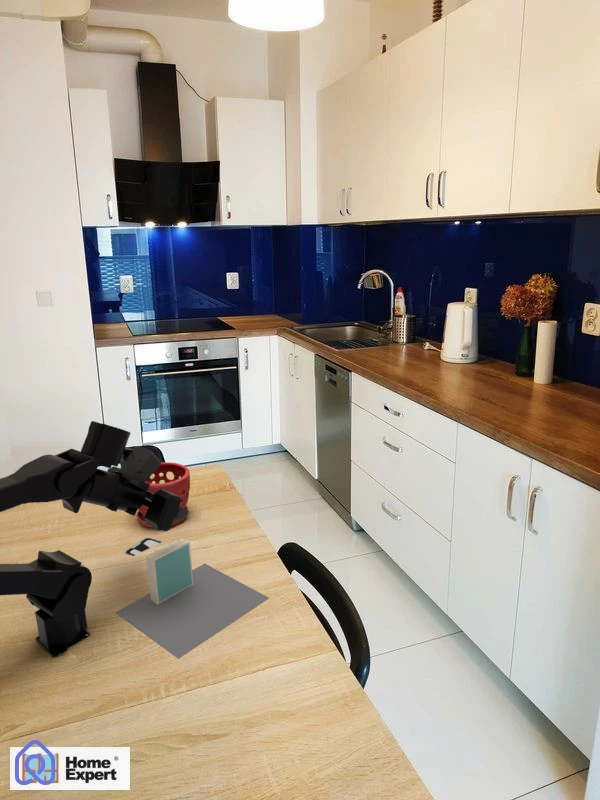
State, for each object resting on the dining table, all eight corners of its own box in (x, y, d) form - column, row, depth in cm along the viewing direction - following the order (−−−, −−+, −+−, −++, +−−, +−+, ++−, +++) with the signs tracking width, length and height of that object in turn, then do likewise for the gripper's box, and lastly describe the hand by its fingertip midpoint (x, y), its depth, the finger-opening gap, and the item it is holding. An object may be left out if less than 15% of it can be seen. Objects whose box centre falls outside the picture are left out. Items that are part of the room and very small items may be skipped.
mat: (178, 661, 89) (178, 658, 89) (115, 615, 101) (115, 612, 101) (269, 600, 104) (269, 597, 103) (204, 566, 115) (204, 563, 115)
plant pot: (135, 536, 127) (129, 486, 124) (136, 510, 140) (131, 464, 136) (195, 528, 130) (190, 479, 127) (191, 503, 142) (187, 458, 139)
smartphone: (178, 572, 113) (122, 552, 120) (179, 576, 113) (122, 557, 120) (202, 554, 119) (147, 536, 126) (202, 558, 119) (147, 540, 126)
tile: (158, 605, 102) (153, 560, 100) (151, 600, 104) (145, 555, 101) (193, 584, 108) (190, 541, 106) (186, 580, 109) (182, 537, 107)
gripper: (158, 458, 93) (221, 479, 105) (94, 431, 104) (157, 452, 116) (131, 525, 91) (197, 538, 103) (69, 489, 102) (135, 505, 115)
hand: (171, 505), depth 109 cm, fingers open, 9 cm apart
